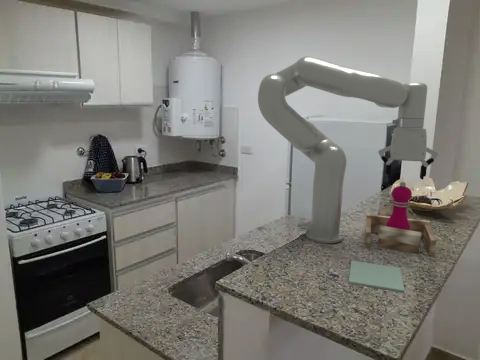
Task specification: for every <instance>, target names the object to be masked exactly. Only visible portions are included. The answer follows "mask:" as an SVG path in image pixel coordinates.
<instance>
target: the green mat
mask: <svg viewBox="0 0 480 360" xmlns="http://www.w3.org/2000/svg"><path fill="white" fill-rule="evenodd" d="M350 261H351V262H350V269H349V270H350V271H349V275H348V276H349V278H348V284H352V285H358V286H364V287H365V286H366V287H370V288H375V289H376V288H377V289H382V290H389V291H394V292H399V293H400V292H401V293H405V287H404V282H403V276H402V275H403V274H402V271H401V267H397V266H391V265H390V266H389V265H383V264H376V263H370V262H369V263H368V262H362V261H357V260H356V261H355V260H350Z"/></svg>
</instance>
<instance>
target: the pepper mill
mask: <svg viewBox="0 0 480 360" xmlns="http://www.w3.org/2000/svg"><path fill="white" fill-rule="evenodd" d="M406 185H407V183H406V182H405V181H401V182H400V183H399V185H398V186H396V187H394V188H393V189H392V191H391V197H392V198H393V199H392V202H391V203H392V204H393V213H392V215H391V217H390V218H389V220H388V222H387V225H386V226H387V227H393V228H399V229H405V230H410V225H409V221H408V218H407V207H408V206H409V207H410V205H409V204H410V200H411V198H412V195H413V192H412V190H411V189H410V188H409V187H407V186H406Z"/></svg>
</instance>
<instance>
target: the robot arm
mask: <svg viewBox="0 0 480 360" xmlns="http://www.w3.org/2000/svg"><path fill="white" fill-rule="evenodd" d="M305 87H310V88H314V89H317V90H320V91H323V92H327V93H330V94H333V95H337V96H341V97H345V98H353V99H354V98H356V99H360V100H362V101H363V100H364V101H368V102H371V103H373V104H375V105H376V106H378V107H381V108H389V109H395V108H398V109H397V111H398V112H397V118H396V119H392V122H391V124H392V125H396V127H395V128H394V129H393V132H392V137H391V142H390V145H389V146H386V147H383V148H380V149H379V150H378V155H379V157H380V158H381V160H382V162H383V163H384V164H386V168H385V175H387V177H388V178H391V175H392V174H391V173H392V163H393V162H394V161H403V162H404V161H407V162H420V163H421V165H420V169H419V170H420V173H419V178H420V180H424V178H425V177H426V176H427V171H428V170H427V168H428V167H429V166H430V165H431V164H432V163H434V162H435V160H436V159H437V158H438V156H439V152H437V151H435V150H433V149H432V148H429V147H427V144H428V143H427V139H428V138H427V137H428V136H427V129H426V128H425V126H424V124H425V117H426V116H425V113H426V104H427V94H428V86H427V84H426V83H423V82H409V83H408V82H407V83H402V82H400V81H398V80H394V79H391V78H388V77H383V76H382V75H381V76H380V75H378V74H373V73H368V72H365V71H361V70H359V69H356V68H355V69H353V68H350V67H346V66H343V65H340V64H336V63H332V62H330V61H326V60H322V59H320V58H316V57H313V56H303V57H300V58H299V59H298V60H297V61H296V62H294V63H292V64H290V65H289V66H287V67H286V68H284V69H281V70H278V71H277V72H276V73H270V74H267V75H266V76H264V77H263V78H262V80H261V81H260V84H259V87H258V93H257V103H258V107H259V111H260V113H261V115H262V118H264V120H265V121H266V122H267V123H268V124H269V125H270V126H271V127H272V128H273V129H274V130H276V131H277V132H278V134H280V135H281V136H282V137H283V138H284V139H286V140H287V141H288V142H289V143H290V145H292V147H293V148H294V149H296V150H298V151H300V152H301V153H302V154H304V155H305V156H306V157H307V158H308V159H309V160H311V162H313V163H314V173H313V174H314V175H313V184H312V185H313V186H312V201H311V202H312V203H311V220H310V221H307V222H304V221H298V223H297V227H298V228H300V230H306V231H305V236H306V238H307V239H309V240H310V241H313V242H317V243H323V244H336V243H340V242H342V241H344V238H345V234H344V233H343V232H341V231H340V230H341V229H340V228H341V218H342V217H341V216H342V205H343V204H342V203H343V190H344V181H345V173H346V168H347V156H346V153H345V151H344V149H343V148H342V147H341V146H339V145H338V144H336V143H335V142H333V141H332V140H331V139H330V138H329V137H327V136H326V135H325V134H324V133H323V132H322V131H320V129H318V128H317V127H316V126H315V125H314V123H311V122H310V121H308V120H306V119H305V118H304V117H303V116H302V115H300V113H298V112H297V111H296V110H295V109H294V108H293V107H291V105H290V104H289V103H288V102H287V99H286V97H287V96H290V95H291V94H293V93H296V92H298V91H300V90H301V89H304V88H305ZM386 152H389V155H390V157H388V158H387V157H386V156H385V153H386ZM427 153H428V154H430V155H431V156H430V157H429V158H428V159H426V155H427Z"/></svg>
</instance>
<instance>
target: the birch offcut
mask: <svg viewBox="0 0 480 360" xmlns="http://www.w3.org/2000/svg"><path fill="white" fill-rule="evenodd" d="M378 238H381V239H386V240H391V241H397V242H402V243H407V244H413V245H418V246H419V245H420V246H421V239H422V238H421V232H416V231H410V230H405V229H399V228H393V227H387V226H380V228H379V231H378V233H377V239H378Z"/></svg>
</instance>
